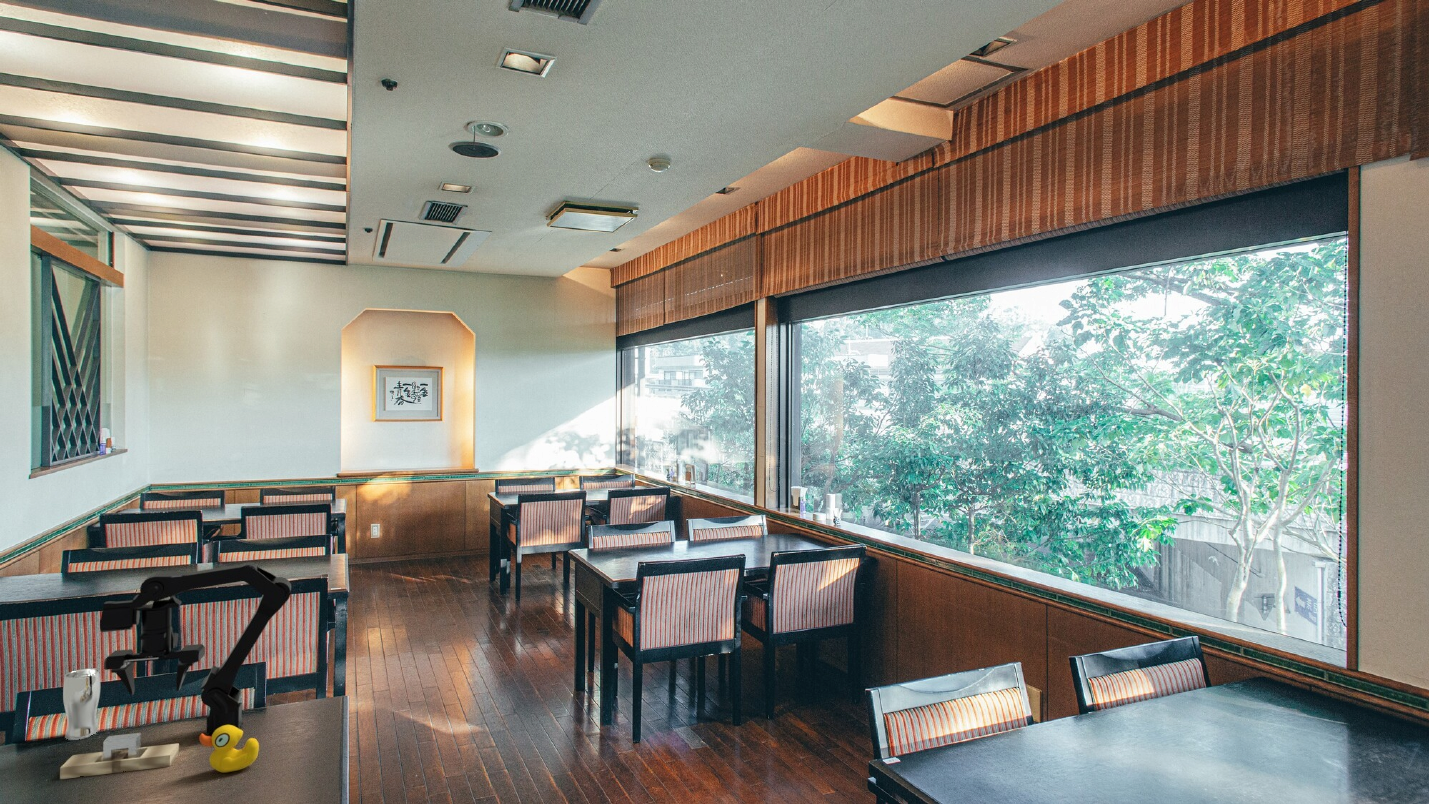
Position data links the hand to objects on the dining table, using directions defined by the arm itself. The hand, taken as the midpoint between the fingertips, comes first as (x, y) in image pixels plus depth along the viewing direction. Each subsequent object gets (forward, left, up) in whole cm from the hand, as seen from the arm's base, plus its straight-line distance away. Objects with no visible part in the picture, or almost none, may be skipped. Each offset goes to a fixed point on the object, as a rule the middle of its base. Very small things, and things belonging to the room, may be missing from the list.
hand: (155, 692), depth 183 cm
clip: (+3, +11, -12) cm, 17 cm away
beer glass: (+18, -10, -12) cm, 24 cm away
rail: (+3, +11, -12) cm, 17 cm away
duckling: (-20, +20, -12) cm, 31 cm away
